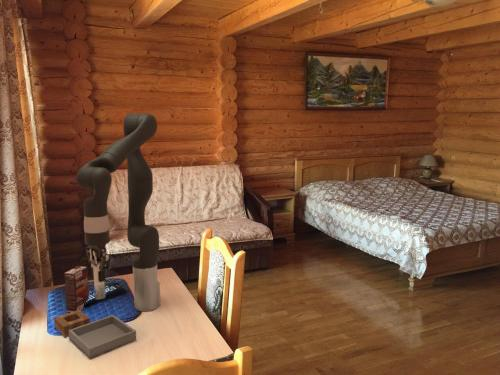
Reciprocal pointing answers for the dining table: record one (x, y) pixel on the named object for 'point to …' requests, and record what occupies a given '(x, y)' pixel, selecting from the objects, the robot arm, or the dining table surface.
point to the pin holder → (70, 321)
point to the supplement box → (76, 288)
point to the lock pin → (98, 285)
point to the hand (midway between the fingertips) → (99, 279)
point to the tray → (102, 336)
